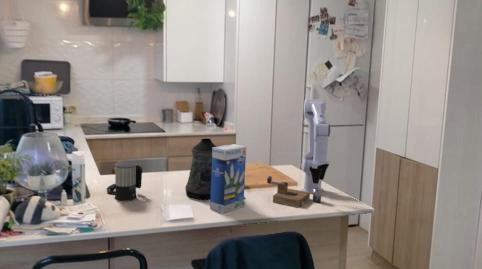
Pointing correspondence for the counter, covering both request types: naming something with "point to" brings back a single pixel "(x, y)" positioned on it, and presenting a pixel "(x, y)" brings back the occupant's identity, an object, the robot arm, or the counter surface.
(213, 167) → the string lights box
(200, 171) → the beer stein
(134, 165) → the milk frother
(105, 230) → the counter surface
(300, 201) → the mount
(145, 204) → the counter surface
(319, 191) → the shiny metal cylinder
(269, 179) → the lock pin
